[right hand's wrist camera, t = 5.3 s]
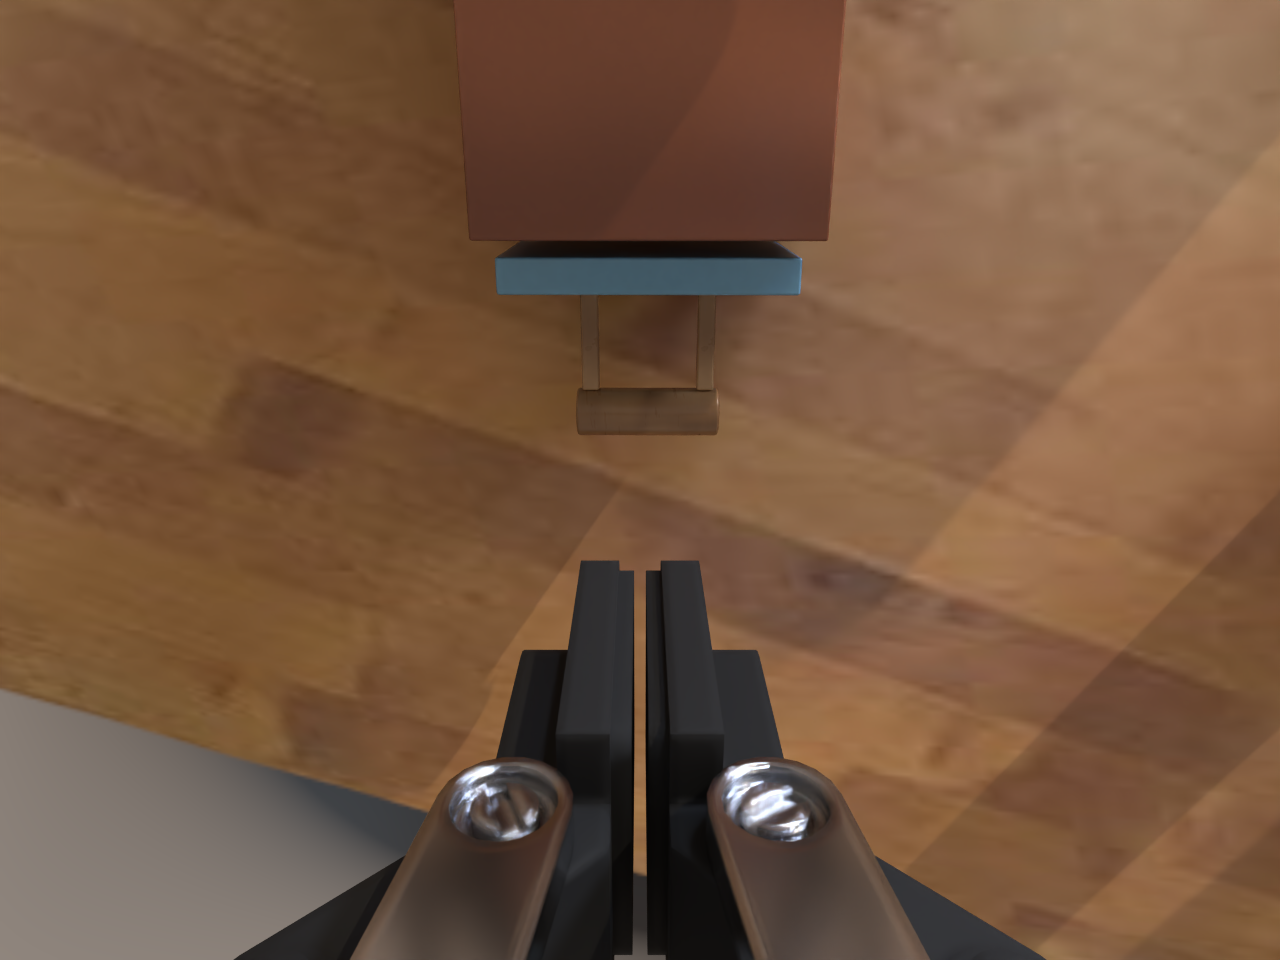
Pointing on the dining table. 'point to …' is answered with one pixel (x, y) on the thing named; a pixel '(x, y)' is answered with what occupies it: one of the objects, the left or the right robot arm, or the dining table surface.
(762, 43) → the cabinet
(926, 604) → the dining table surface
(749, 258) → the drawer
